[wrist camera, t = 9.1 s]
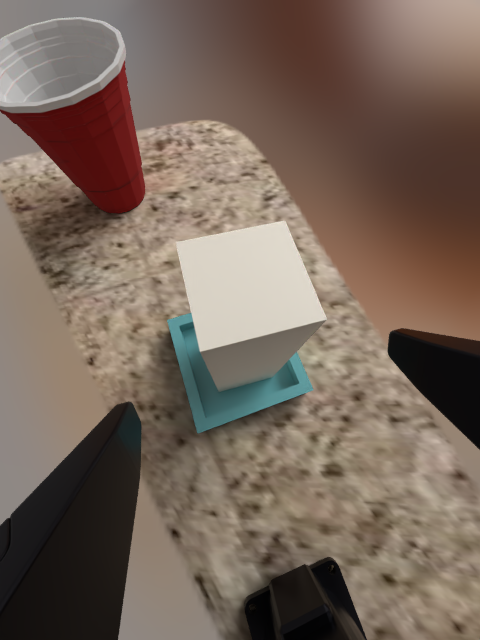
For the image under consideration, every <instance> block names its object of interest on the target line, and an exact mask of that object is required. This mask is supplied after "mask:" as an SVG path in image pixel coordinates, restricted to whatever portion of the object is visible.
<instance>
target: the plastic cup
mask: <svg viewBox="0 0 480 640" xmlns="http://www.w3.org/2000/svg"><path fill="white" fill-rule="evenodd" d="M125 57H126V50H125V45H124V42H123V39H122V36H121V33H120V31H118V30H117V29H115V28H114V27H112V26H111V25H109V24H108V23H106V22H104V21H99V20H94V19H89V18H84V17H80V18H59V19H53V20H49V21H45V22H40V23H36V24H32V25H29V26H26V27H24V28H22V29H20V30H17V31H15V32H13V33H11V34H9V35H6V36H4V37H2V38H1V39H0V111H1V113H2V114H5V115H6V116H7V117H8V118H9V119H10V120H11V121H12V122H13V123H15V124H17V125H18V126H19V127H20V128H21V129H22V130H23V131H24V132H25V133H26V134H27V135H28V136H30V137H31V138H32V139H33V140H34V141H35V142H36V143H37V144H38V145H39V146H40V147H41V149H42V150H43V151H44V152H45V153H46V154H47V155H48V156H49V157H50V158H51V159H52V160H53V161H54V162H55V163H56V165H57V166H58V167H59V168H60V169H61V170H62V171H63V172H64V173H65V174H66V175H67V176H68V177H69V178H70V180H71V181H72V182H73V183H74V184H75V185H76V186H77V187H79V188H80V189H81V190H82V191H83V192H84V193H85V194H86V196H87V197H88V198H89V199H90V200H91V201H92V202H93V203H94V205H95V206H97V207H98V208H99V209H101V210H103V211H105V212H108V213H123V212H127V211H130V210H132V209H133V208H135V207H137V206H138V205H139V204H140V202H141V201H142V200H143V198H144V194H145V183H144V178H143V173H142V167H141V165H142V162H141V157H140V152H139V147H138V141H137V136H136V131H135V126H134V121H133V116H132V110H131V105H130V95H129V91H128V87H127V83H128V81H127V77H126V73H125V70H126V68H125Z"/></svg>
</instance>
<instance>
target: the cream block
mask: <svg viewBox="0 0 480 640" xmlns="http://www.w3.org/2000/svg"><path fill="white" fill-rule="evenodd" d="M176 246H177V251H178V255H179V260H180V264H181V269H182V273H183V278H184V282H185V287H186V291H187V296H188V300H189V305H190V309H191V314H192V318H193V323H194V327H195V332H196V336H197V341H198V345H199V350H200V353H201V355H202V357H203V359H204V361H205V363H206V366H207V368H208V370H209V372H210V374H211V376H212V378H213V380H214V383H215V385H216V387H217V389H218V391H219V392H221V391H225V390H229V389H232V388H236V387H239V386H243V385H247V384H250V383H254V382H257V381H261V380H265V379H268V378H272V377H273V376H274V375H275V374H276V373H277V372H278V371H279V370H280V369H281V368H282V367H283V365H284V364H285V363H286V362H287V361H288V360H289V359H290V358H291V357H292V356H293V355H294V354H295V353H296V352H297V351H298V350H299V349H300V347H301V346H302V345H303V344H304V343H305V342H306V341H307V340H308V339H309V338H310V337H311V336H312V335H313V334H314V333H315V332H316V331H317V329H318V328H319V327H320V326H321V325H322V324H323V323H324V322H325V321H326V320H327V318H326V316H325V313H324V311H323V309H322V306H321V304H320V302H319V299H318V297H317V295H316V292H315V290H314V288H313V285H312V283H311V280H310V278H309V276H308V273H307V271H306V269H305V266H304V264H303V262H302V259H301V257H300V255H299V252H298V250H297V248H296V245H295V243H294V240H293V238H292V236H291V233H290V231H289V229H288V226H287V224H286V222H285V221H280V222H275V223H270V224H265V225H260V226H255V227H250V228H245V229H240V230H235V231H230V232H225V233H220V234H215V235H210V236H205V237H200V238H195V239H190V240H185V241H180V242H176Z"/></svg>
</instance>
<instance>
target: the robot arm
mask: <svg viewBox="0 0 480 640" xmlns="http://www.w3.org/2000/svg"><path fill="white" fill-rule="evenodd" d="M388 355H389V357H390V358H391V359H392V360H393V362H394V363H395V364H396V365H397V366H398V367H399V369H400V370H401V371H402V372H403V373H404V374H405V376H406V377H407V378H408V379H409V380H410V381H411V382H412V384H413V385H414V386H415V387H416V388H417V389H418V390H419V391H420V392H421V393H422V394H423V395H424V396H425V397H426V398H427V399H428V400H429V401H430V402H431V403H432V404H433V405H434V406H435V407H436V408H437V409H438V410H439V411H440V412H441V413H442V414H443V415H444V416H445V417H446V418H447V419H448V420H450V421H451V422H452V423H453V424H454V425H455V426H456V427H457V428H458V429H459V430H460V431H461V432H462V433H463V434H464V435H465V436H466V437H467V438H468V439H469V440H470V441H471V442H472V443H473V444H474V445H475V446H476V447H477V448H478V449H480V341H476V340H470V339H464V338H457V337H452V336H446V335H439V334H434V333H428V332H422V331H416V330H410V329H404V328H401V329H397V330H394V331H391V332H390V334H389V341H388ZM140 467H141V421H140V419H139V417H138V414H137V412H136V410H135V408H134V405H133V404H132V403H131V402H125V403H121V404H118V405H116V406H115V407H114V408H113V409H112V410H111V411H110V412H109V413H108V414H107V415H106V416H105V417H104V418H103V419H102V421H101V422H100V423H99V424H98V425H97V426H96V427H95V428H94V429H93V430H92V431H91V432H90V433H89V434H88V435H87V436H86V437H85V438H84V440H82V441H81V442H80V443H79V444H78V445H77V447H76V448H75V449H74V450H73V451H72V452H71V453H70V454H69V455H68V456H67V457H66V458H65V459H64V460H63V461H62V462H61V463H60V464H59V465H58V466H57V467H56V468H55V469H54V471H53V472H51V473H50V475H49V476H48V477H47V478H46V479H45V480H44V481H43V482H42V483H41V484H40V485H39V486H38V487H37V488H36V489H35V490H34V491H33V493H31V494H30V495H29V497H27V498H26V499H25V501H24V502H23V503H22V504H21V505H20V506H19V507H18V508H17V509H16V510H15V511H14V512H13V513H12V514H11V517H10V518H7V519H6V520H5V521H4V522H3V523H2V524H1V525H0V640H118V635H119V628H120V620H121V613H122V606H123V598H124V591H125V583H126V577H127V569H128V562H129V555H130V547H131V540H132V532H133V525H134V518H135V511H136V503H137V496H138V489H139V481H140ZM330 565H333V566H334V568H333V570H332V571H328V567H329V566H330ZM251 604H255V605H256V609H254V610H250V609H249V606H250V605H251ZM245 614H246V618H247V621H248V625H249V629H250V632H251V636H252V640H367V639H366V636H365V633H364V631H363V628H362V626H361V623H360V620H359V618H358V615H357V613H356V610H355V607H354V605H353V602H352V599H351V597H350V594H349V592H348V589H347V586H346V584H345V581H344V579H343V576H342V573H341V571H340V568H339V566H338V564H337V563H336V561H335V560H334V559H333V558H331V557H327V558H325V559H323V560H320V561H318V562H316V563H314V564H312V565H310V566H307V565H305V564H304V565H302V566H300V567H298V568H296V569H294V570H292V571H290V572H287V573H285V574H283V575H281V576H279V577H277V578H275V579H273V580H271V582H270V585H269V586H267V587H265V588H263V589H261V590H259V591H257V592H255V593H253V594H251V595H249V596H248V597H247V598H246V600H245Z"/></svg>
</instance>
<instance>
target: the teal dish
mask: <svg viewBox="0 0 480 640" xmlns="http://www.w3.org/2000/svg"><path fill="white" fill-rule="evenodd" d="M167 321H168V325H169V329H170V333H171V336H172V340H173V344H174V348H175V351H176V355H177V359H178V362H179V366H180V370H181V374H182V377H183V381H184V385H185V389H186V392H187V396H188V400H189V404H190V407H191V411H192V415H193V419H194V422H195V426H196V430H197V433H201V432H203V431H206V430H209V429H211V428H214V427H217V426H219V425H222V424H225V423H227V422H230V421H233V420H235V419H238V418H241V417H243V416H246V415H249V414H251V413H254V412H256V411H259V410H262V409H264V408H267V407H270V406H272V405H275V404H278V403H280V402H283V401H286V400H288V399H291V398H294V397H296V396H299V395H302V394H304V393H307V392H310V391H312V390H313V388H312V385H311V383H310V381H309V379H308V376H307V374H306V372H305V369H304V367H303V365H302V363H301V360H300V358H299V356H298V354H297V352H296V353H295V354H294V355H293V356H292V357H291V358H290V359H289V360H288V361H287V362H286V363H285V364H284V365H283V367H282V368H281V369H280V370H279V371H278V372H277V373H276V374H275V375H274V376H273V377H272V378H268V379H265V380H261V381H257V382H254V383H250V384H247V385H243V386H239V387H236V388H232V389H229V390H225V391H221V392H219V391H218V389H217V387H216V385H215V383H214V380H213V378H212V376H211V374H210V372H209V370H208V368H207V366H206V363H205V361H204V359H203V357H202V355H201V353H200V350H199V345H198V341H197V336H196V332H195V327H194V323H193V318H192V314H191V313H189V314H186V315H182V316H179V317H176V318H173V319H169V320H167Z"/></svg>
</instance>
